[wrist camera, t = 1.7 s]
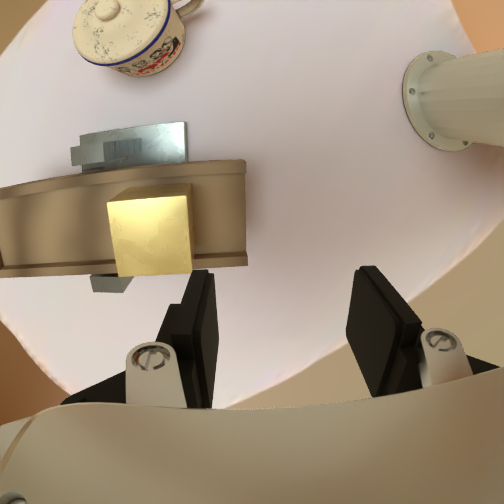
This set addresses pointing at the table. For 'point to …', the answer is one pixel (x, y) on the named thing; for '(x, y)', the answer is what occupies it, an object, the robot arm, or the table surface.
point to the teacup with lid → (131, 33)
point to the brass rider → (153, 230)
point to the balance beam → (97, 220)
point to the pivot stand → (129, 165)
